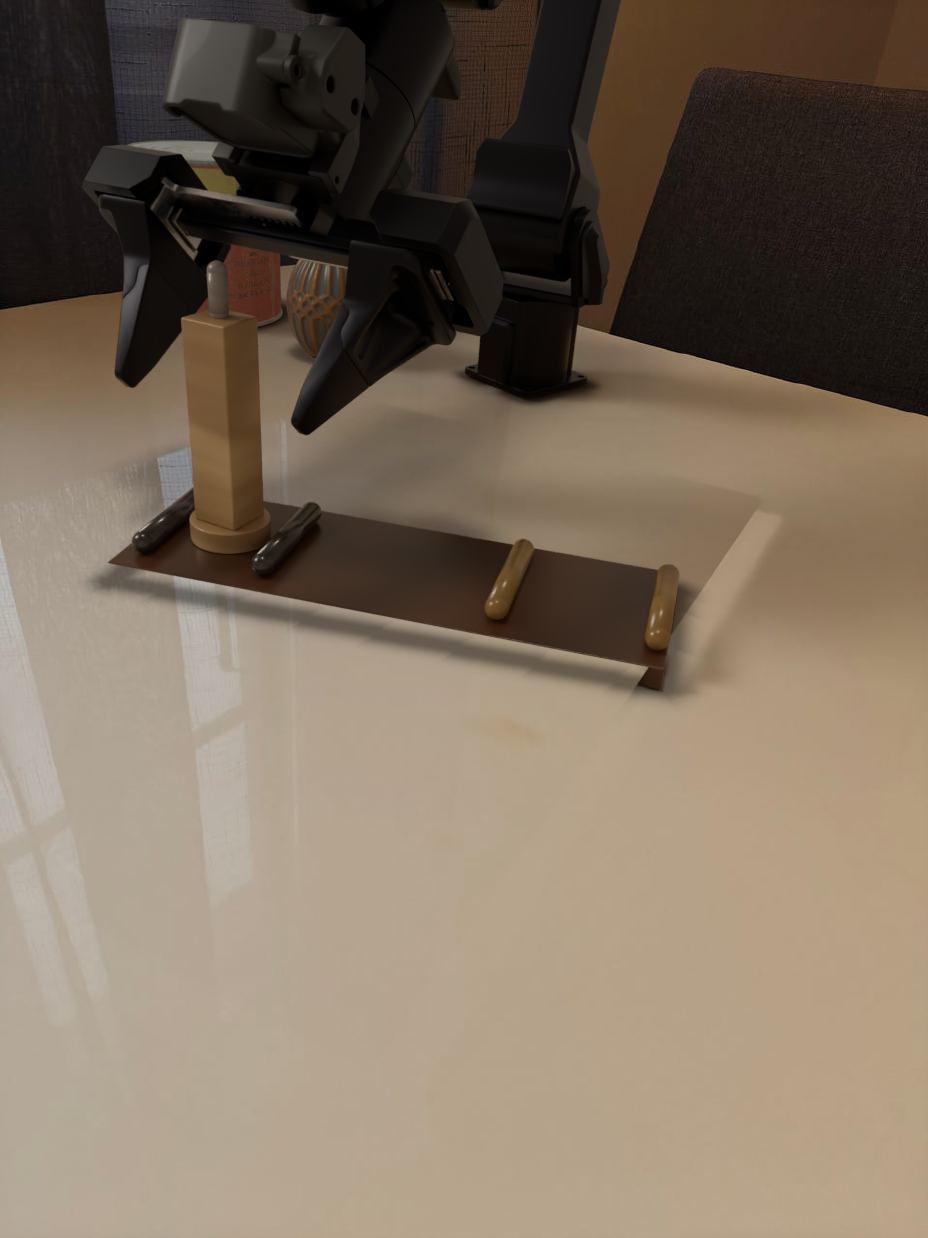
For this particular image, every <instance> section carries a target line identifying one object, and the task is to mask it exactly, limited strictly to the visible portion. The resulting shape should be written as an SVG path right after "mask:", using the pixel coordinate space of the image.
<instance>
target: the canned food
mask: <svg viewBox="0 0 928 1238" xmlns="http://www.w3.org/2000/svg"><path fill="white" fill-rule="evenodd" d="M218 142H219V141H208V140H181V139H180V140H178V139H175V140H171V139H170V140H168V139H167V140H166V139H165V140H149V141H148V140H147V141H138V142H132V143H129V144H127V145H128V146H134V147H141V148H147V149H153V150H160V151H166V152H172V153H179V154H182V155H183V157H184V158H185V159H186V161H187V162H188V164H189V165H190V166H191V168H192V169H193V170H194V172H195V173H196V175H197V176H198V177H199V179H200V180H201V181H202V183H203V184H204V185H205V187H206V188H207V190H208V191H213V192H218V193H224V194H230V195H236V191H237V189H238V187H239V184H238V182H237V181H236V179H235V178H234V177H232V176H226V175H225V174H224V173H223V172H222V170H221V169H220V167H219V166H218V164H217V163H216V161H215V160H214V159H213V157H212V154H213V152H214V150H215V148H216V146H217V144H218ZM236 196H237V195H236ZM223 264H224V265H225V266H226V268H227V277H228V297H229V311H233V312H238V313H242V314H247V315H251V316H255V317H257V328H260V327H263V326H266V325H270V324H273V323H274V322H277V321H278V320H280V318H282V316H283V314H284V313H283V308H282V279H281V278H282V277H281V276H282V275H281V254H277V253H272V252H267V251H262V250H257V249H252V248H247V247H241V246H236V245H231V249H230V251H229V253H228V255H227V257H226V259H225V261H224V263H223ZM206 276H207V275H206ZM206 310H209V302H208V298H207V299H206V301H205V302H204V303H203V305H202V306H201V307H200V308H199V310H198V311H197V312H196V313H199V312H202V311H206Z"/></svg>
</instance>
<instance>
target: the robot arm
mask: <svg viewBox="0 0 928 1238" xmlns="http://www.w3.org/2000/svg"><path fill="white" fill-rule="evenodd" d="M503 1H504V0H285V2H286V3H287V4H288V5H290V6H291V7H292V8H294V9H295V10H297V11H300V12H304V13H306V14H311V15H323V16H322V17H321V20H320V21H319V24H315V23H310V24H307V25H305V27H304V28H303V29H302V31H301V32H300V34H299V35H298V33H294V32H285V31H276V30H273V29H271V28H269V27H266V26H262V25H259V24H256V23H255V24H254V23H245V22H235V21H225V20H214V19H204V18H203V19H202V18H195V17H192V18H191V17H183V18H181V19H179V21H178V25H177V29H176V35H175V39H174V45H173V48H172V53H171V58H170V62H169V67H168V72H167V76H166V82H165V87H164V91H163V95H162V100H161V104H160V106H161V107H162V109H163V110H164V111H165V112H166V113H167V114H169V115H171V116H172V117H174V118H182V117H183V118H184V119H186V120H187V121H188V122H190V124H191V123H192V124H193V125H194V126H196V127H197V128H199V130H202V131H203V132H205V133H206V134H208V135H209V136H211V137H212V138H214V139H215V140H217V142H218V144H217V146H216V148H215V150H214V152H213V154H212V157H213V159H214V160H215V161H216V163H217V164H218V166H219V167H220V169H221V170H222V172H223V173H224V174H225V175H226V176H232V177H234V178H235V179H236V181H237V182H238V184H239V187H238V189H237V191H236V195H237V196H236V195H230V194H224V193H218V192H213V191H208V190H207V188H206V187H205V185H204V184H203V183H202V181H201V180H200V179H199V177H198V176H197V175H196V173H195V172H194V170H193V169H192V168H191V166H190V165H189V164H188V162H187V161H186V159H185V158H184V157H183V155H182V154H179V153H172V152H166V151H160V150H153V149H147V148H141V147H134V146H128V144H116V145H103V146H102V147H101V148H100V150H99V151H98V153H97V156H96V157H95V159H94V161H93V163H92V165H91V167H90V168H89V170H88V172H87V174H86V176H85V177H84V179H83V182H82V186H81V188H82V189H83V191H84V192H85V193H86V194H87V195H88V197H90V199H91V200H92V202H94V203H95V204H96V205H97V207H98V209H99V213H100V215H101V216H102V217H103V219H104V220H105V221H106V222H107V223H108V224H109V225H110V227H111V228H112V229H113V230H114V231H115V232H116V233H117V236H118V238H119V242H120V245H121V250H122V259H123V261H122V262H123V285H122V296H121V305H120V314H119V322H118V323H119V325H118V333H117V343H116V353H115V360H114V361H115V362H114V372H113V373H114V376H115V378H116V379H117V380H118V381H119V382H120V383H121V384H123V386H125V387H127V388H130V389H134V388H136V387H137V386H138V385H139V384H140V383H141V382H142V381H143V380H144V379H145V378H146V377H147V376H148V374H149V373H151V372H152V371H153V369H155V368H156V366H157V365H158V364H159V362H160V361H161V359H162V358H163V357H164V356H165V354H166V353H167V351H169V349H170V348H171V346H172V345H173V344H174V343H175V341H177V340H176V339H178V337H179V336H180V335H181V334H182V324H181V318H182V317H185V316H189V315H192V314H196V312H197V311H198V310H199V308H200V307H201V306H202V305H203V303H204V302H205V301H206V299H207V298H208V285H207V276H206V275H207V266H208V265H209V263H210V262H212V261H220V262H222V263H224V261H225V259H226V257H227V255H228V253H229V251H230V249H231V245H236V246H241V247H247V248H252V249H257V250H262V251H267V252H272V253H277V254H280V255H284V256H288V257H289V258H292V259H295V260H299V259H300V260H305V261H310V262H315V263H320V264H325V265H331V266H336V267H341V268H346V269H347V278H346V289H345V295H344V299H343V301H342V304H341V306H340V308H339V310H338V312H337V314H336V316H335V318H334V320H333V323H332V325H331V327H330V329H329V331H328V333H327V335H326V337H325V339H324V341H323V344H322V346H321V348H320V350H319V352H318V354H317V356H316V357H314V358H315V359H314V360H313V363H312V365H311V367H310V368H309V371H308V373H307V375H306V377H305V379H304V382H303V384H302V386H301V389H300V391H299V394H298V397H297V400H296V402H295V406H294V408H293V411H292V414H291V417H290V424H291V426H292V427H293V428H294V429H295V431H296V432H297V433H298V434H300V435H303V436H310V435H311V434H313V433H314V432H315V431H316V430H317V429H319V428H320V427H322V426H323V425H324V424H326V423H327V422H328V420H330V419H331V418H333V417H334V416H335V415H336V414H337V413H339V412H340V411H342V410H343V409H344V408H345V407H347V406H348V405H349V404H351V403H352V402H353V401H354V400H355V399H357V398H358V397H359V396H360V395H362V394H363V393H365V392H366V391H367V390H368V389H370V387H372V386H373V385H375V384H376V383H377V382H378V381H380V380H381V379H383V378H384V377H385V376H387V375H388V374H390V373H392V372H393V371H395V370H396V369H398V368H399V367H401V366H402V365H404V364H405V363H407V362H409V361H410V360H412V359H413V358H415V357H416V356H418V355H419V354H421V353H423V352H424V351H426V350H428V348H430V347H432V346H434V345H440V346H444V347H447V346H451V345H452V344H453V342H454V341H455V339H456V337H457V333H461V334H467V335H472V336H476V337H479V344H478V357H477V363H473V364H470V365H469V364H468V365H466V366H465V367H464V374H465V375H467V376H470V377H472V378H474V379H476V380H479V381H482V382H484V383H487V384H489V385H492V386H494V387H496V388H499V389H501V390H504V391H507V392H509V393H512V394H514V395H516V396H519V397H521V398H526V399H527V398H534V397H539V396H542V395H547V394H551V393H554V392H559V391H563V390H566V389H571V388H575V387H579V386H582V385H586V384H587V383H588V376H587V375H586V374H583V373H581V372H577V371H574V370H573V362H574V356H575V355H574V354H575V348H576V340H577V332H578V325H579V316H580V309H581V308H583V307H585V306H600V305H602V304H603V301H604V300H603V299H604V293H605V288H606V287H607V286H608V281H609V278H608V277H609V272H610V268H611V263H610V258H609V256H608V251H607V247H606V243H605V238H604V234H603V230H602V226H601V222H600V218H599V214H598V209H599V204H600V198H601V187H600V184H599V181H598V177H597V174H596V171H595V166H594V164H593V160H592V156H591V153H590V149H589V146H588V145H589V144H588V143H589V138H590V132H591V129H592V124H593V120H594V115H595V112H596V107H597V103H598V99H599V96H600V95H599V94H600V90H601V85H602V82H603V79H604V78H603V77H604V74H605V69H606V65H607V61H608V56H609V52H610V48H611V44H612V40H613V35H614V32H615V27H616V23H617V18H618V15H619V10H620V6H621V1H622V0H541V2H540V6H539V11H538V16H537V20H536V25H535V29H534V33H533V39H532V43H531V47H530V52H529V55H528V61H527V66H526V70H525V75H524V79H523V83H522V88H521V92H520V96H519V100H518V101H519V102H518V105H517V106H518V107H517V110H516V113H515V118H514V120H513V121H512V123H511V124H510V125H509V126H508V128H507V129H506V130H505V131H504V132H503V133H502V134H501V135H500V136H499V137H498V138H496V137H487V136H486V137H485V138H483V140H482V141H481V143H480V145H479V147H478V148H477V150H476V153H475V161H474V167H473V173H472V179H471V183H470V186H469V188H468V189H469V190H468V192H467V194H466V197H465V198H462V197H456V196H450V195H444V194H439V193H438V194H437V193H431V192H426V191H419V190H412V189H408V187H409V185H410V183H411V181H412V179H413V177H414V175H415V172H414V171H413V168H412V166H411V164H410V161H409V159H408V157H407V155H406V151H407V149H408V148H409V145H410V143H411V141H412V139H413V137H414V135H415V132H416V130H417V128H418V126H419V124H420V122H421V120H422V118H423V116H424V114H425V111H426V109H427V108H428V105H429V103H430V100H431V99H439V100H449V101H457V100H459V99H460V97H461V95H462V73H461V70H460V67H459V64H458V61H457V58H456V55H455V47H456V39H455V35H454V32H453V29H452V26H451V24H450V23H451V22H450V20H449V17H448V15H447V12H446V9H445V8H448V9H458V10H459V9H461V10H472V11H491V12H492V11H494V10H496V9H498V8H499V6H500V5H501V4H502V3H503Z"/></svg>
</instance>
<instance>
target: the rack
mask: <svg viewBox="0 0 928 1238" xmlns="http://www.w3.org/2000/svg"><path fill="white" fill-rule="evenodd" d="M263 501H264V508H265V509H266V510H267V511H268V512H269V514H270V517H271V537H270V540H269V541H268V542H267V543H266V544H265V545H264V546H262V547H260V548H258V549H256V550H253V551H249V552H245V553H238V554H220V553H213V552H209V551H206V550H203V549H201V548H199V547H197V546H196V545H195V544H194V543H193V542H192V540H191V535H190V522H189V518H190V515H191V514H192V512H193V511H194V510H195V501H194V488H193V486H192V487H191V488H190V489H189V490H187V491H186V492H185V493H184V494H182V495H181V496H180V497H179V498H177V499H176V500H175V501H174V502H173V503H171V504H170V505H168V506H167V507H166V508H165V509H164V510H162V511H161V512H160V513H158V514H157V515H156V516H155V517H153V518H152V519H151V520H150V521H149V522H147V523H146V524H145V525H143V527H141V528H140V529H139V530H138V531H136V532H135V533H134V534H133V536H132V537H131V540H130V541H131V543H130V544H128V545H127V546H126V547H125V548H123V549H122V550H121V551H119V552H118V553H117V554H116V555H115V556H114V557H112V558H111V559H110V560H109V561H108V562H107V564H110V565H116V566H121V567H125V568H131V569H137V570H142V571H146V572H152V573H156V574H157V573H158V574H162V575H168V576H171V577H178V578H183V579H188V580H194V581H199V582H204V583H209V584H214V585H219V586H224V587H230V588H235V589H241V590H245V591H251V592H256V593H261V594H267V595H272V596H277V597H282V598H287V599H293V600H298V601H303V602H308V603H313V604H318V605H324V606H328V607H334V608H338V609H344V610H349V611H355V612H360V613H366V614H370V615H376V616H379V617H380V616H381V617H387V618H392V619H396V620H401V621H406V622H411V623H418V624H423V625H427V626H433V627H438V628H443V629H448V630H454V631H459V632H464V633H470V634H475V635H480V636H485V637H489V638H496V639H500V640H505V641H510V642H516V643H521V644H526V645H532V646H536V647H542V648H547V649H553V650H557V651H563V652H568V653H573V654H578V655H584V656H587V657H588V656H589V657H593V658H599V659H605V660H609V661H615V662H619V663H626V664H630V665H635V666H641V667H647V669H646V670H645V671H644V673H643V675H642V676H641V677H640V679H639V680H638V682H637V684H636V686H639V687H640V686H641V687H644V688H650V689H656V690H661V689H662V686H663V681H664V677H665V672H666V665H667V660H668V652H669V646H670V642H671V636H672V631H673V630H672V629H673V623H674V616H675V608H676V601H677V595H678V587H679V581H680V571H679V569H678V567H677V566H676V565H674V564H671V563H665V564H662V565H661V566H660V567H659V568H658V569H656V568H649V567H643V566H638V565H633V564H626V563H619V562H616V561H610V560H605V559H604V560H603V559H599V558H598V559H597V558H592V557H586V556H580V555H575V554H569V553H564V552H558V551H553V550H546V549H541V548H535V547H534V544H533V542H531V540H529V539H527V538H519V539H517V540H516V541H515V542H514V543H513V544H512V543H506V542H503V541H501V542H500V541H496V540H495V541H494V540H489V539H484V538H478V537H473V536H467V535H461V534H456V533H449V532H445V531H444V532H443V531H439V530H434V529H433V530H432V529H427V528H421V527H415V526H410V525H403V524H398V523H393V522H387V521H381V520H376V519H371V518H370V519H369V518H364V517H359V516H353V515H347V514H342V513H337V512H336V513H335V512H330V511H326V510H325V511H324V510H322V507H321V506H320V505H319V504H318V503H317V502H315V501H307V502H306V503H304V504H302V505H301V506H296V505H291V504H284V503H278V502H272V501H268V500H263Z"/></svg>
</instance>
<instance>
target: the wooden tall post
mask: <svg viewBox="0 0 928 1238" xmlns="http://www.w3.org/2000/svg"><path fill="white" fill-rule="evenodd" d="M207 285H208V302H209V310H206V311H202V312H199V313H196V314H192V315H189V316H185V317H182V318H181V324H182V332H181V336H182V348H183V349H182V350H183V363H184V377H185V390H186V405H187V406H186V407H187V418H188V431H189V445H190V460H191V473H192V474H191V475H192V485H193V486H192V487H193V488H194V501H195V510H194V511H193V512H192V514H191V515H190V518H189V522H190V535H191V540H192V542H193V543H194V544H195V545H196V546H197V547H199V548H201V549H203V550H206V551H209V552H213V553H220V554H238V553H245V552H249V551H253V550H256V549H258V548H260V547H262V546H264V545H265V544H266V543H267V542H268V541H269V540H270V537H271V517H270V514H269V512H268V511H267V510H266V509H265V508H264V501H265V500H264V478H263V477H264V476H263V475H264V474H263V449H262V448H263V447H262V446H263V445H262V418H261V391H260V362H259V334H258V332H259V331H258V327H257V317H255V316H251V315H247V314H242V313H238V312H233V311H229V297H228V277H227V268H226V266H225V265H224V264H223V263H222V262H220V261H212V262H210V263H209V265H208V266H207Z"/></svg>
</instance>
